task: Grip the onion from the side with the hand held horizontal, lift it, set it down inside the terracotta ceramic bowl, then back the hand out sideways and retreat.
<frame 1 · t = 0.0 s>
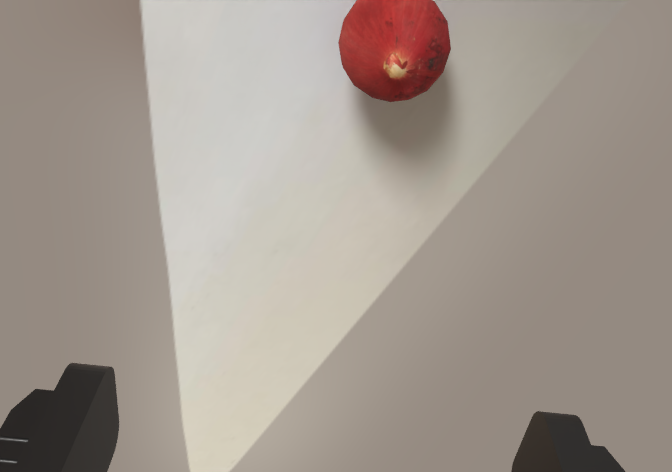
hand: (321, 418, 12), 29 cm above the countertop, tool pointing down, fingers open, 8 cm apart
onion: (390, 25, 37), on the countertop
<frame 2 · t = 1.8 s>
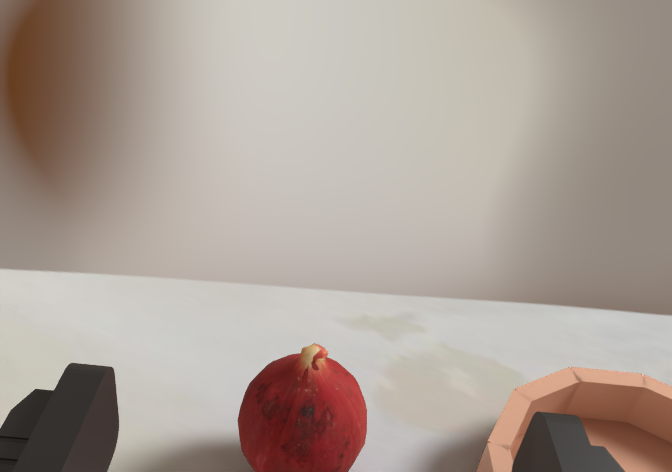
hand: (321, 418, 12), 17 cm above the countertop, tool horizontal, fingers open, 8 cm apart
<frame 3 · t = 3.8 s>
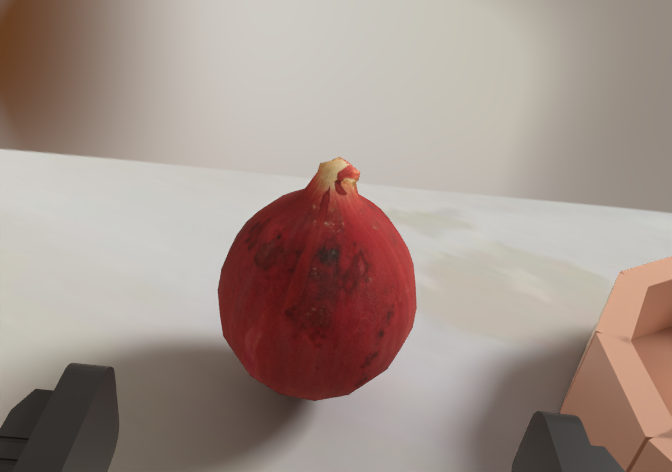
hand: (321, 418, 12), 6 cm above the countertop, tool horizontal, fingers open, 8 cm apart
onion: (304, 388, 21), on the countertop
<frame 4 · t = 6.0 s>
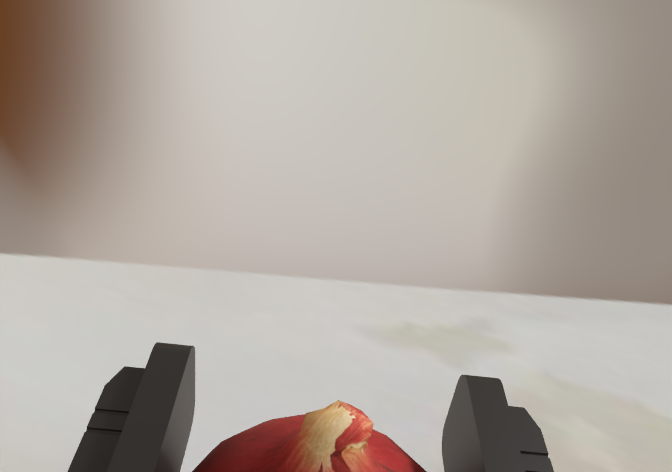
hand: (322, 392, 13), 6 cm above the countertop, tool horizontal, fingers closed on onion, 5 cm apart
when the fingers open (9 cm above the countertop, at t = 11.1 s): onion drops 2 cm, resting on bowl.
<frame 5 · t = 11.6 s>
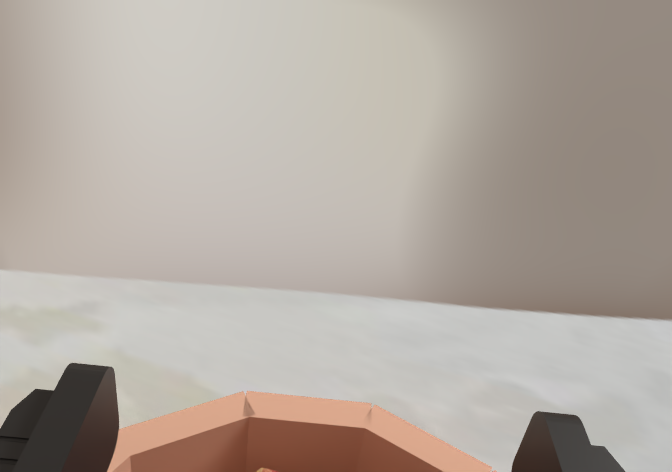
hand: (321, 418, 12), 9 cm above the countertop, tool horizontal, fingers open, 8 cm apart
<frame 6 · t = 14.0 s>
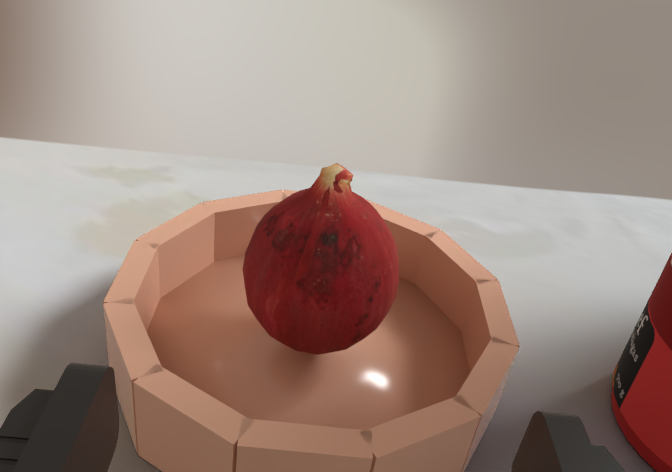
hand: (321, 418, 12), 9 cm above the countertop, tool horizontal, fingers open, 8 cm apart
onion: (311, 349, 26), point 1 cm above the countertop, touching bowl
bowl: (308, 356, 27), on the countertop
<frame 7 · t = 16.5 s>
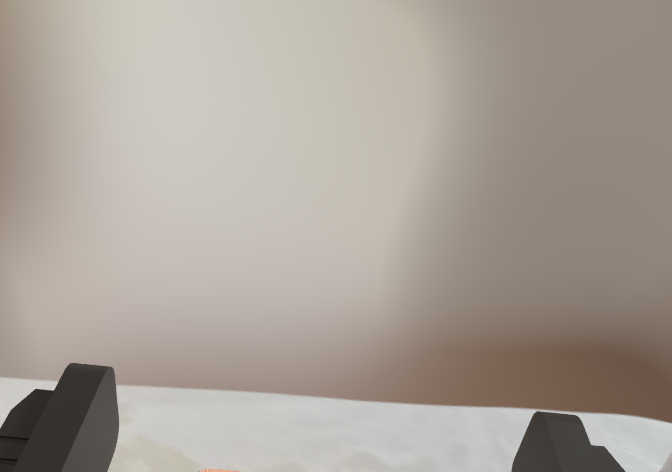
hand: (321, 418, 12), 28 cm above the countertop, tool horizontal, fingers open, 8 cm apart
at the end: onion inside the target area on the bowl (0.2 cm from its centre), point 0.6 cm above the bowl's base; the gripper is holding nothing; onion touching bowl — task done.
